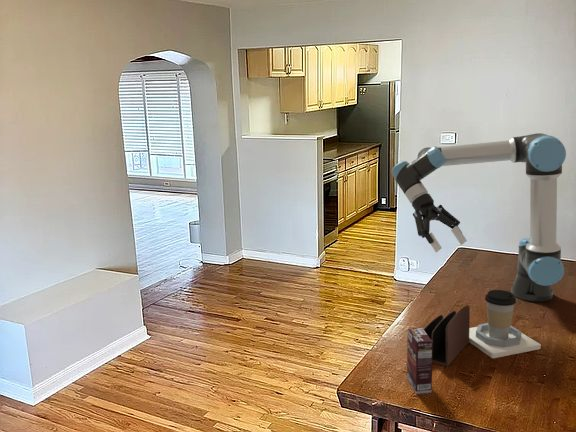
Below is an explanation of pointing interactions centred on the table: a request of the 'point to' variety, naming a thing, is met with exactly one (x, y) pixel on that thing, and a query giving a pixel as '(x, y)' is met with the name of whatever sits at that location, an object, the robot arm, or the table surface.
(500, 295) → the coffee cup
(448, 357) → the letter holder
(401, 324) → the table surface
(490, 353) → the dock board
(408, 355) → the supplement box
